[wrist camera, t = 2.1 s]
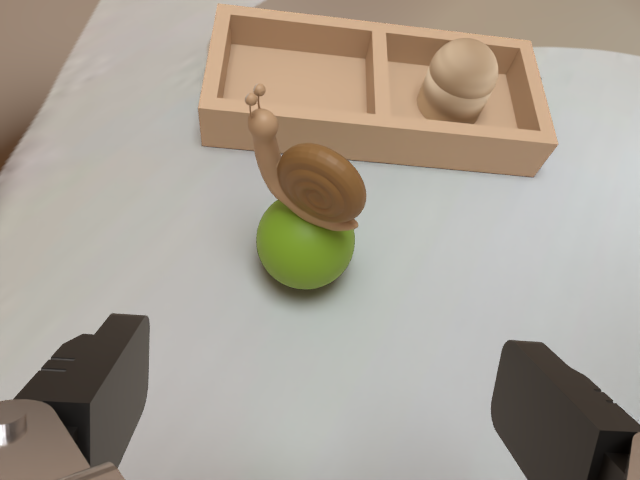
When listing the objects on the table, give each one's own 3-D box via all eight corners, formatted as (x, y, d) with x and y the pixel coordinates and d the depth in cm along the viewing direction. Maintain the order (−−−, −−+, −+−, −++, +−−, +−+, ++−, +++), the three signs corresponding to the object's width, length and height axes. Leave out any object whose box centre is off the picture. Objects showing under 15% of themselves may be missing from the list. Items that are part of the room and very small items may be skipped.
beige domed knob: (474, 86, 40) (504, 27, 36) (482, 133, 38) (515, 75, 33) (414, 80, 40) (436, 19, 35) (419, 126, 37) (443, 67, 33)
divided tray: (510, 76, 43) (530, 40, 40) (533, 177, 38) (558, 144, 35) (219, 44, 41) (217, 3, 38) (202, 145, 35) (198, 107, 32)
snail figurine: (271, 203, 34) (282, 50, 24) (361, 250, 33) (413, 112, 23) (223, 268, 31) (212, 128, 21) (319, 321, 30) (358, 201, 20)
